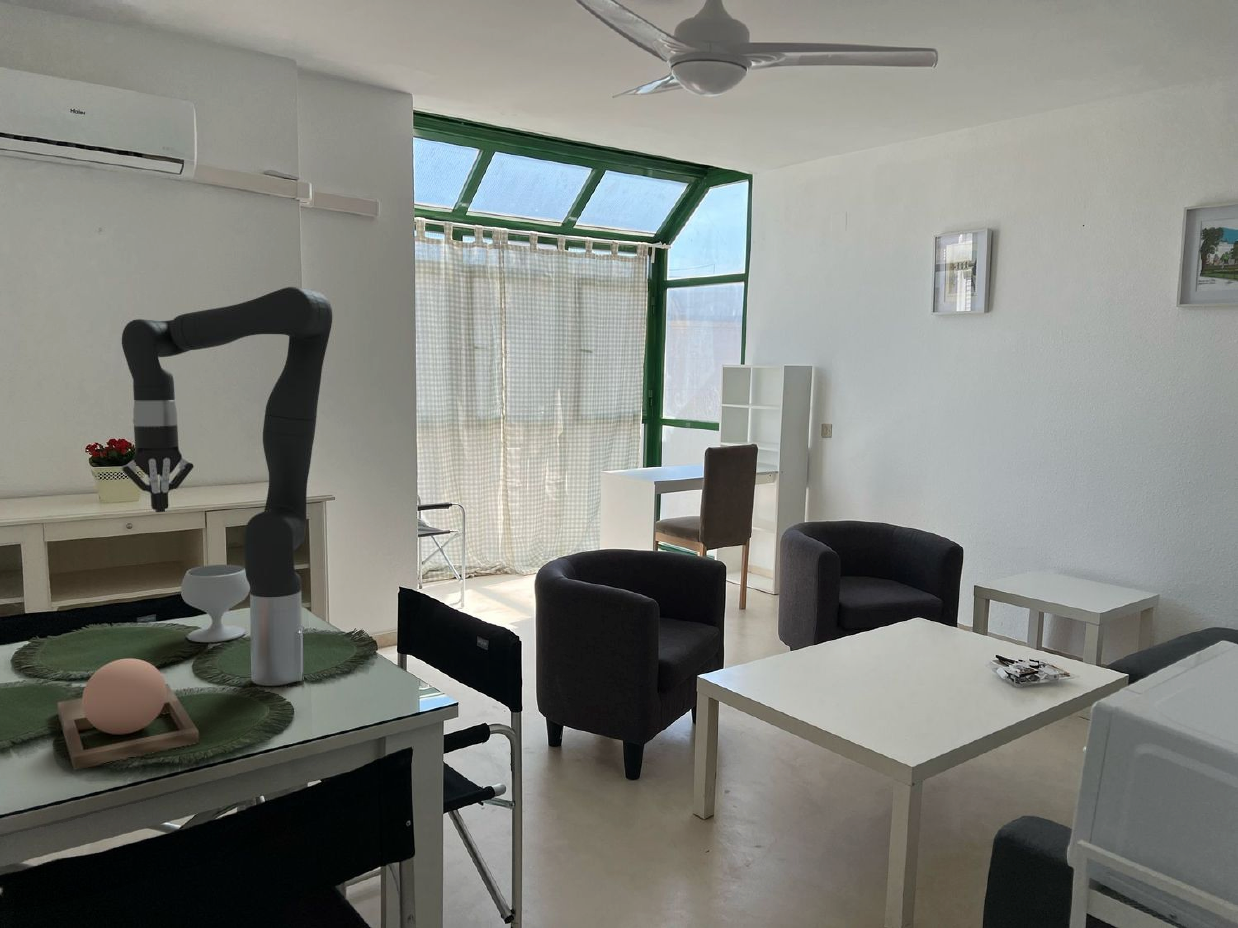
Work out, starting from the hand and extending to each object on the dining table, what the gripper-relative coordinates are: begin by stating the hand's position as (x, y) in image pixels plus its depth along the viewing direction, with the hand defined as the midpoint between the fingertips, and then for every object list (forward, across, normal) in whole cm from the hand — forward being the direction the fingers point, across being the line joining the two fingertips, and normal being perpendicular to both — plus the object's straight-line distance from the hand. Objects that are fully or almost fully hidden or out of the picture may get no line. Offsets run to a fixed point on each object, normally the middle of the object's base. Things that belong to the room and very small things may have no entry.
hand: (160, 511), depth 170 cm
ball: (+26, -11, -31) cm, 42 cm away
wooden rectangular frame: (+32, -11, -29) cm, 45 cm away
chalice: (+32, +13, +17) cm, 38 cm away
